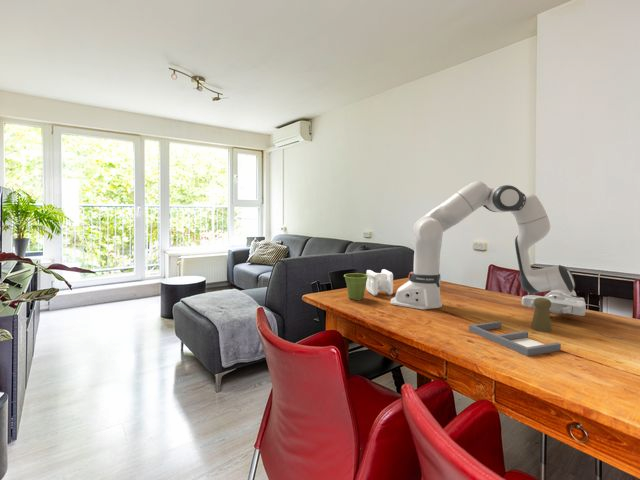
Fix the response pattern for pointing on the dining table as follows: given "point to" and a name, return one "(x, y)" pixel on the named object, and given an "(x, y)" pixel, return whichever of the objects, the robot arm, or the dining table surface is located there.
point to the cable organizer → (379, 282)
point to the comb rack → (514, 340)
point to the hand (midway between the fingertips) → (547, 308)
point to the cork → (541, 315)
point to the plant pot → (356, 285)
